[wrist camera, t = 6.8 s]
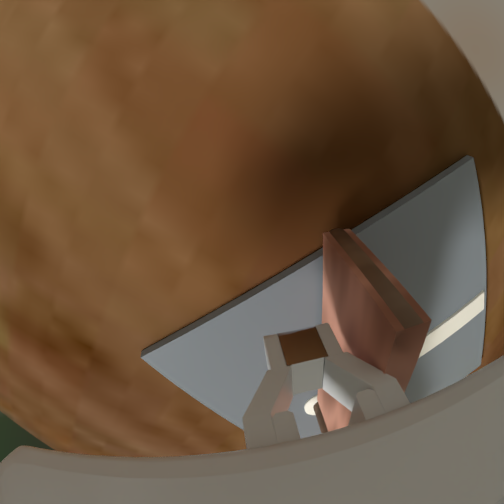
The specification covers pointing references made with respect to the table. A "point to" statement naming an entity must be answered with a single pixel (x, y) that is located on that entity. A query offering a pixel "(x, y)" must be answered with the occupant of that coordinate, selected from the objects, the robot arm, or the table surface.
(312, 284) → the card
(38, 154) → the table surface
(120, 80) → the table surface
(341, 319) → the gate panel
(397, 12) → the table surface
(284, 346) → the robot arm
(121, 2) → the table surface
